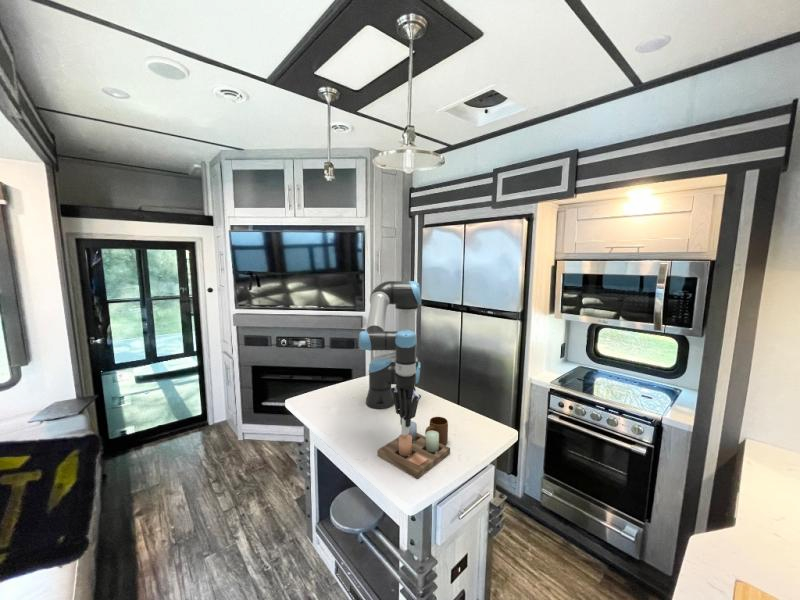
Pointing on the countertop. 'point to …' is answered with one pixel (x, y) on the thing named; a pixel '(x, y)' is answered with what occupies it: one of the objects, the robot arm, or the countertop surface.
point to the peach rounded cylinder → (405, 445)
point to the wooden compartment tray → (413, 456)
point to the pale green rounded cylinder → (432, 441)
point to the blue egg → (413, 430)
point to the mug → (439, 428)
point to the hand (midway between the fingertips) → (405, 433)
